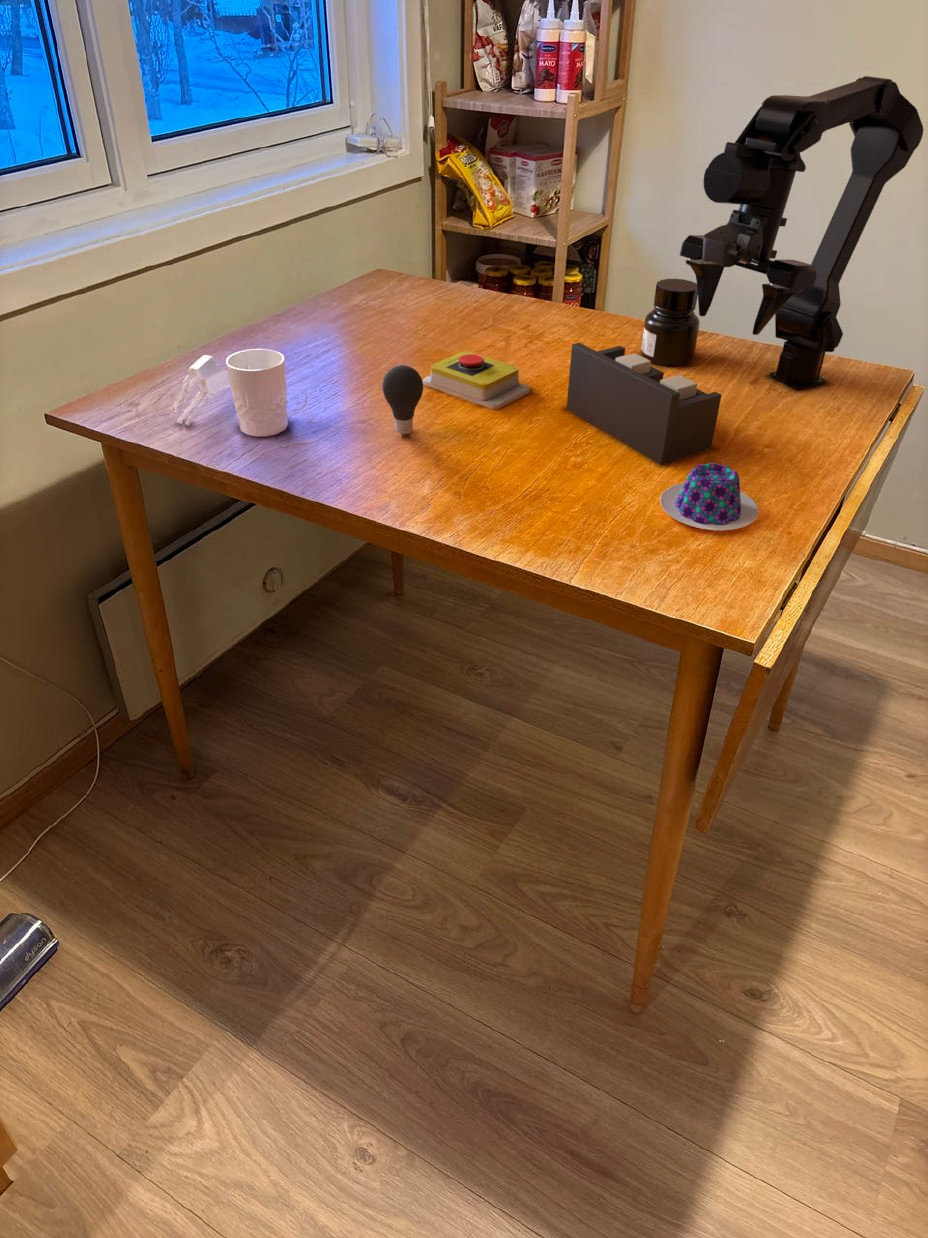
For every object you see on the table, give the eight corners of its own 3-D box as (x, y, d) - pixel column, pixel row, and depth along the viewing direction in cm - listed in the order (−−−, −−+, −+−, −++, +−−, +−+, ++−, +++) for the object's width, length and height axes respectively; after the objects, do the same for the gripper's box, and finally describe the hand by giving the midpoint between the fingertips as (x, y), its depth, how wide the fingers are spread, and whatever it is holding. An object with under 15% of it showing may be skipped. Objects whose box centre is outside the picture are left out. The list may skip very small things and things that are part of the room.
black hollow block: (614, 395, 142) (621, 332, 136) (711, 448, 128) (724, 380, 122) (566, 409, 138) (571, 344, 132) (661, 465, 124) (672, 395, 118)
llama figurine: (205, 457, 137) (262, 373, 145) (174, 403, 127) (237, 316, 135) (195, 455, 137) (252, 371, 145) (163, 400, 128) (226, 314, 136)
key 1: (632, 365, 135) (634, 352, 134) (649, 373, 133) (651, 360, 132) (613, 370, 134) (615, 357, 133) (630, 378, 132) (632, 365, 130)
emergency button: (458, 340, 148) (533, 364, 140) (458, 366, 151) (532, 391, 143) (419, 356, 142) (496, 382, 135) (420, 383, 145) (495, 410, 137)
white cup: (301, 419, 134) (294, 353, 128) (275, 442, 128) (267, 373, 122) (253, 411, 136) (244, 345, 130) (225, 433, 130) (214, 365, 124)
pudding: (771, 534, 111) (780, 495, 107) (673, 537, 110) (680, 498, 107) (739, 485, 120) (747, 448, 117) (649, 487, 119) (654, 451, 116)
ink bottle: (647, 343, 160) (656, 273, 153) (698, 351, 158) (710, 279, 150) (634, 363, 153) (644, 290, 146) (687, 371, 150) (700, 297, 143)
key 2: (677, 387, 129) (679, 374, 128) (695, 396, 127) (697, 383, 126) (658, 393, 128) (660, 379, 126) (676, 402, 125) (678, 388, 124)
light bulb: (394, 446, 128) (391, 377, 122) (378, 430, 132) (374, 362, 125) (430, 438, 130) (429, 370, 124) (413, 422, 134) (412, 355, 128)
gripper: (670, 189, 122) (641, 308, 131) (790, 219, 111) (750, 348, 119) (719, 192, 129) (689, 306, 137) (836, 221, 118) (796, 343, 126)
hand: (728, 324), depth 130 cm, fingers open, 9 cm apart
